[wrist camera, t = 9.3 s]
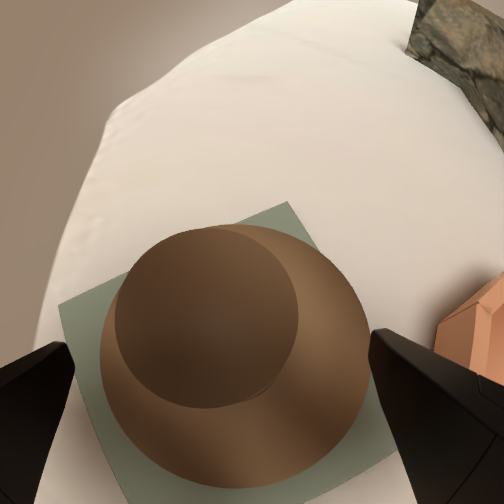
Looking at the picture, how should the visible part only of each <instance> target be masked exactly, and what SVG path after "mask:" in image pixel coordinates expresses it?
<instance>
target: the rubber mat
mask: <svg viewBox="0 0 504 504" xmlns="http://www.w3.org/2000/svg"><path fill="white" fill-rule="evenodd" d="M235 224H244V225H254V226H261V227H265V228H270V229H274V230H277V231H280V232H283V233H286V234H289V235H291V236H293V237H295V238H297V239H299V240H301V241H303V242H305V243H307V244H308V245H310V246H311V247H313V248H315V249H316V250H318V248H317V247H316V245H315V243H314V242H313V240H312V239H311V237H310V236H309V234H308V232H307V231H306V229H305V228H304V226H303V225H302V223H301V221H300V220H299V218H298V217H297V215H296V214H295V212H294V211H293V209H292V208H291V206H290V205H289V203H288V202H284V203H282V204H280V205H277V206H275V207H272V208H270V209H268V210H265V211H263V212H261V213H258V214H256V215H254V216H251V217H249V218H247V219H244V220H242V221H240V222H237V223H235ZM318 251H319V250H318ZM319 252H320V251H319ZM128 273H129V271H128V272H126V273H124V274H122V275H120V276H118V277H116V278H114V279H111V280H109V281H107V282H105V283H103V284H101V285H99V286H97V287H95V288H93V289H90V290H88V291H86V292H84V293H82V294H80V295H78V296H76V297H74V298H72V299H70V300H68V301H66V302H64V303H62V304H60V305H58V308H59V312H60V317H61V322H62V326H63V330H64V334H65V339H66V342H67V345H68V348H69V350H70V353H71V355H72V358H73V360H74V363H75V375H76V378H77V381H78V384H79V388H80V391H81V394H82V397H83V400H84V402H85V405H86V408H87V411H88V414H89V416H90V419H91V422H92V424H93V427H94V429H95V432H96V435H97V437H98V439H99V442H100V444H101V447H102V449H103V451H104V454H105V456H106V458H107V460H108V463H109V465H110V467H111V469H112V471H113V473H114V475H115V477H116V480H117V482H118V484H119V486H120V488H121V490H122V491H123V493H124V495H125V497H126V499H127V501H128V503H129V504H302V503H304V502H306V501H308V500H311V499H313V498H315V497H317V496H319V495H321V494H323V493H325V492H327V491H329V490H331V489H333V488H335V487H336V486H338V485H340V484H342V483H344V482H346V481H347V480H349V479H351V478H353V477H354V476H356V475H358V474H360V473H361V472H363V471H365V470H366V469H368V468H370V467H371V466H373V465H374V464H376V463H378V462H379V461H381V460H382V459H384V458H385V457H387V456H388V455H390V454H392V453H393V452H394V451H396V450H397V449H398V448H397V446H396V443H395V440H394V438H393V435H392V433H391V430H390V428H389V425H388V422H387V420H386V417H385V415H384V412H383V410H382V407H381V405H380V401H379V398H378V394H377V390H376V387H375V383H374V379H373V376H372V372H371V376H370V381H369V385H368V390H367V393H366V396H365V399H364V402H363V405H362V407H361V409H360V411H359V413H358V415H357V417H356V419H355V421H354V423H353V425H352V426H351V427H350V429H349V430H348V432H347V433H346V434H345V436H344V437H343V438H342V440H341V441H340V442H339V443H338V444H337V445H336V446H335V447H334V448H333V449H332V450H331V451H330V452H329V453H328V454H327V455H326V456H325V457H323V458H322V459H321V460H319V461H318V462H317V463H316V464H314V465H313V466H311V467H309V468H308V469H306V470H304V471H302V472H301V473H299V474H297V475H295V476H293V477H290V478H288V479H285V480H283V481H280V482H277V483H273V484H269V485H265V486H261V487H253V488H242V489H231V488H217V487H212V486H206V485H201V484H198V483H195V482H192V481H189V480H186V479H183V478H181V477H179V476H177V475H175V474H173V473H171V472H169V471H167V470H165V469H163V468H162V467H160V466H159V465H157V464H156V463H155V462H153V461H152V460H150V459H149V458H148V457H147V456H146V455H145V454H143V453H142V452H141V451H140V450H139V449H138V448H137V447H136V446H135V445H134V444H133V442H132V441H131V440H130V439H129V438H128V437H127V435H126V434H125V433H124V431H123V430H122V428H121V427H120V425H119V423H118V422H117V420H116V419H115V417H114V414H113V412H112V410H111V408H110V406H109V404H108V401H107V398H106V394H105V391H104V388H103V383H102V377H101V371H100V344H101V335H102V331H103V326H104V322H105V318H106V316H107V313H108V310H109V308H110V305H111V303H112V301H113V299H114V297H115V295H116V293H117V291H118V290H119V288H120V287H121V285H122V284H123V282H124V280H125V278H126V276H127V274H128Z"/></svg>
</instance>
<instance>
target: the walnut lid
mask: <svg viewBox="0 0 504 504" xmlns="http://www.w3.org/2000/svg"><path fill="white" fill-rule="evenodd" d="M370 337H371V336H370V331H369V327H368V322H367V319H366V316H365V313H364V311H363V308H362V305H361V303H360V301H359V299H358V297H357V295H356V293H355V291H354V289H353V288H352V286H351V285H350V284H349V282H348V281H347V279H346V278H345V276H344V275H343V274H342V273H341V272H340V271H339V270H338V268H337V267H336V266H335V265H334V264H333V263H332V262H331V261H330V260H329V259H327V258H326V257H325V256H324V255H323V254H321V253H320V252H319V251H318V250H316V249H315V248H313V247H311V246H310V245H308V244H307V243H305V242H303V241H301V240H299V239H297V238H295V237H293V236H291V235H289V234H286V233H283V232H280V231H277V230H274V229H270V228H265V227H261V226H254V225H244V224H232V225H219V226H212V227H207V228H202V229H194V230H189V231H185V232H181V233H178V234H176V235H173V236H170V237H168V238H166V239H165V240H163V241H161V242H159V243H158V244H156V245H155V246H153V247H152V248H150V249H149V250H148V251H147V252H146V253H145V254H143V255H142V256H141V257H140V259H139V260H138V261H137V262H136V263H135V264H134V266H133V267H132V268H131V270H130V271H129V273H128V274H127V276H126V278H125V280H124V282H123V284H122V285H121V287H120V288H119V290H118V291H117V293H116V295H115V297H114V299H113V301H112V303H111V305H110V308H109V310H108V313H107V316H106V318H105V322H104V326H103V331H102V335H101V344H100V371H101V377H102V383H103V388H104V391H105V394H106V398H107V401H108V404H109V406H110V408H111V410H112V412H113V414H114V417H115V419H116V420H117V422H118V423H119V425H120V427H121V428H122V430H123V431H124V433H125V434H126V435H127V437H128V438H129V439H130V440H131V441H132V442H133V444H134V445H135V446H136V447H137V448H138V449H139V450H140V451H141V452H142V453H143V454H145V455H146V456H147V457H148V458H149V459H150V460H152V461H153V462H155V463H156V464H157V465H159V466H160V467H162V468H163V469H165V470H167V471H169V472H171V473H173V474H175V475H177V476H179V477H181V478H183V479H186V480H189V481H192V482H195V483H198V484H201V485H206V486H212V487H217V488H231V489H242V488H253V487H261V486H265V485H269V484H273V483H277V482H280V481H283V480H285V479H288V478H290V477H293V476H295V475H297V474H299V473H301V472H302V471H304V470H306V469H308V468H309V467H311V466H313V465H314V464H316V463H317V462H318V461H319V460H321V459H322V458H323V457H325V456H326V455H327V454H328V453H329V452H330V451H331V450H332V449H333V448H334V447H335V446H336V445H337V444H338V443H339V442H340V441H341V440H342V438H343V437H344V436H345V434H346V433H347V432H348V430H349V429H350V427H351V426H352V425H353V423H354V421H355V419H356V417H357V415H358V413H359V411H360V409H361V407H362V405H363V402H364V399H365V396H366V393H367V390H368V385H369V381H370V376H371V369H370V365H369V361H368V350H369V344H370Z"/></svg>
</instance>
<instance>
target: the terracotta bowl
mask: <svg viewBox="0 0 504 504" xmlns="http://www.w3.org/2000/svg"><path fill="white" fill-rule="evenodd" d="M433 352H435V353H437V354H439V355H441V356H443V357H445V358H447V359H449V360H451V361H453V362H455V363H457V364H459V365H461V366H464V367H466V368H468V369H470V370H472V371H474V372H476V373H477V375H479V374H480V375H482V376H484V377H486V378H488V379H490V380H492V381H494V382H497V383H499V384H501V385H503V386H504V272H502V273H501V274H499V275H498V276H497V277H495V278H494V279H492V280H491V281H489V282H488V283H487V284H485V285H484V286H483V287H482V288H481V289H480V290H479V291H477V292H476V293H475V294H474V295H473V296H472V297H471V298H469V299H468V300H467V301H466V302H465V303H463V304H462V305H461V306H460V307H459V308H457V309H456V310H455V311H454V312H452V313H451V314H450V315H449V316H447V317H446V318H445V319H444V320H442V321H441V322H440V323H439V325H438V327H437V334H436V340H435V346H434V351H433Z"/></svg>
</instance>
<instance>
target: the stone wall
mask: <svg viewBox="0 0 504 504" xmlns="http://www.w3.org/2000/svg"><path fill="white" fill-rule="evenodd" d="M405 54H406V55H407V56H409V57H411V58H413V59H415V60H416V61H418V62H420V63H422V64H423V65H425V66H427V67H428V68H430V69H432V70H433V71H435V72H437V73H438V74H440V75H441V76H443V77H444V78H446V79H447V80H449V81H450V82H452V83H453V84H455V85H456V86H458V87H459V88H461V89H462V91H463V92H464V94H465V95H466V97H467V99H468V100H469V102H470V103H471V105H472V106H473V107H474V109H475V110H476V112H477V113H478V114H479V116H480V117H481V119H482V120H483V121H484V123H485V124H486V126H487V127H488V129H489V130H490V131H491V133H492V134H493V135H494V137H495V138H496V139H497V141H498V143H499V145H500V146H501V148H502V150H503V152H504V19H503V18H501V17H499V16H497V15H495V14H494V13H492V12H490V11H489V10H487V9H485V8H484V7H482V6H480V5H478V4H476V3H475V2H473V1H471V0H419V4H418V7H417V11H416V15H415V19H414V23H413V27H412V31H411V34H410V38H409V42H408V45H407V49H406V52H405Z"/></svg>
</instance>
